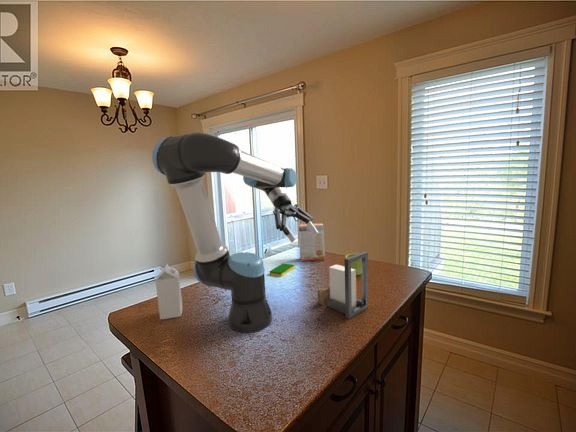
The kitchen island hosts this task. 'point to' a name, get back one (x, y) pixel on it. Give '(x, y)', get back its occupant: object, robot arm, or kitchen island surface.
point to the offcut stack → (323, 294)
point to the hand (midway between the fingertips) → (305, 237)
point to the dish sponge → (281, 270)
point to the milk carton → (169, 293)
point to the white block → (341, 284)
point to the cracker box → (311, 243)
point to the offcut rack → (347, 306)
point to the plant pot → (356, 265)
